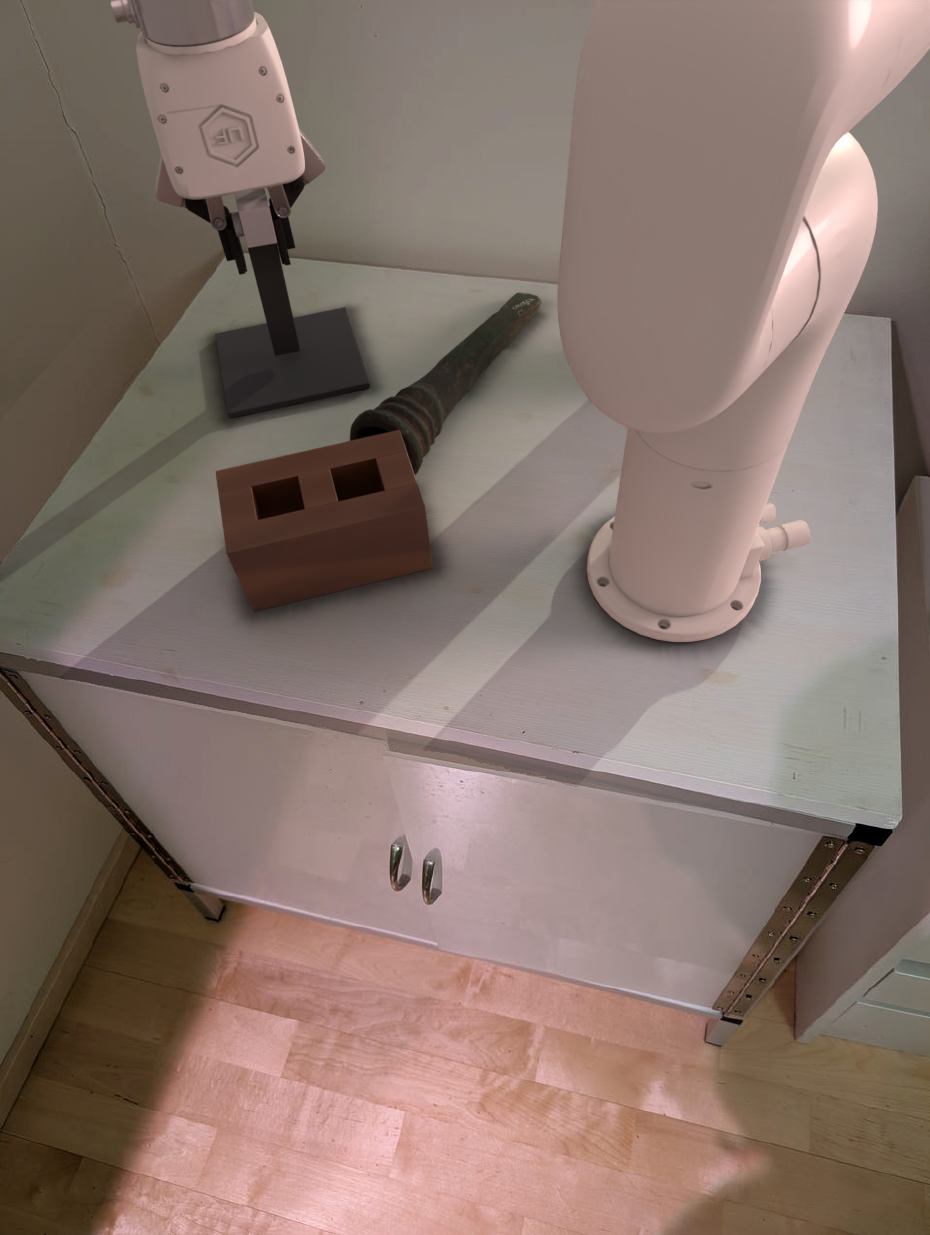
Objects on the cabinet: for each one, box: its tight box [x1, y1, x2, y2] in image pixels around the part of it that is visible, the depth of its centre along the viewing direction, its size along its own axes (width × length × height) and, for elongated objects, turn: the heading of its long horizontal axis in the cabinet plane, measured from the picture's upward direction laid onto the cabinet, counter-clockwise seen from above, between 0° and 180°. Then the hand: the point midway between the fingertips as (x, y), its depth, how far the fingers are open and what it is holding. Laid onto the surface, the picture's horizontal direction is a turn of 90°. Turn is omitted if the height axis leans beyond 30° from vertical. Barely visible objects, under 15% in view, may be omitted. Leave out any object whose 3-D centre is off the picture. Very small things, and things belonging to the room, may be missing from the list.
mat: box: [214, 306, 371, 419], centre depth 79 cm, size 13×12×1 cm
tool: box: [349, 292, 542, 476], centre depth 73 cm, size 28×6×7 cm, turn 147°
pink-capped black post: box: [230, 188, 300, 356], centre depth 72 cm, size 3×4×14 cm
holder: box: [215, 430, 434, 613], centre depth 63 cm, size 8×14×7 cm, turn 105°
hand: (262, 259), depth 70 cm, fingers closed on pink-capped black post, 3 cm apart
